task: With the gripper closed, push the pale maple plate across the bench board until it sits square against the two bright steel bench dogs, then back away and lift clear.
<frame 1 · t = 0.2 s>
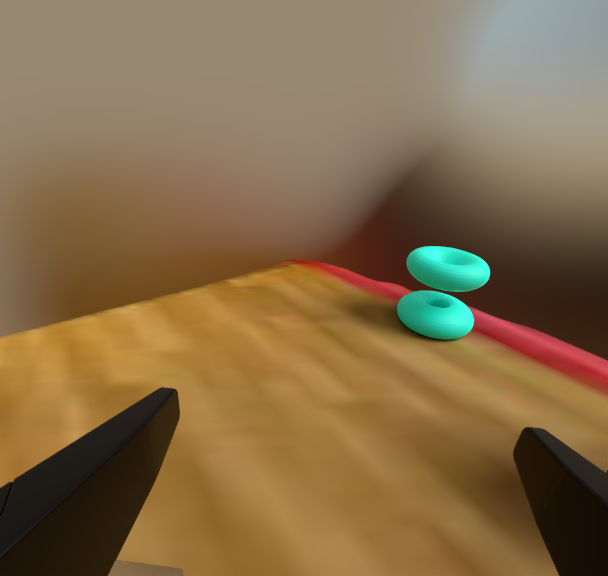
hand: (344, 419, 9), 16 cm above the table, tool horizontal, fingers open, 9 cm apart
donuts: (431, 324, 46), on the table
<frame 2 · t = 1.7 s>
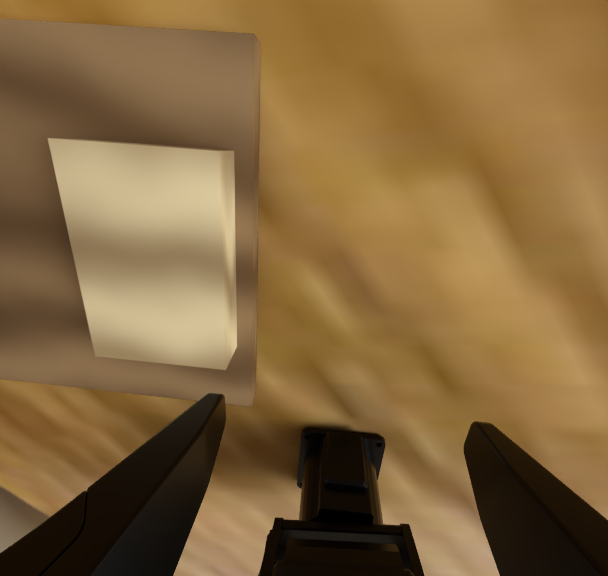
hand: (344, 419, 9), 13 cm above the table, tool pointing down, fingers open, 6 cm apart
maple plate: (169, 254, 20), point 1 cm above the table, touching bench board
bench board: (88, 239, 21), on the table
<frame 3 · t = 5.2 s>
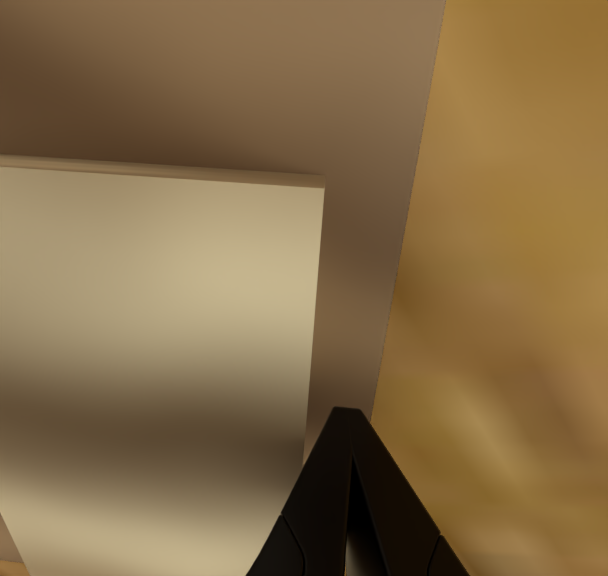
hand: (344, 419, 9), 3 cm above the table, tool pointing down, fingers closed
maple plate: (175, 378, 10), point 2 cm above the table, touching bench board, gripper
bench board: (50, 336, 11), on the table
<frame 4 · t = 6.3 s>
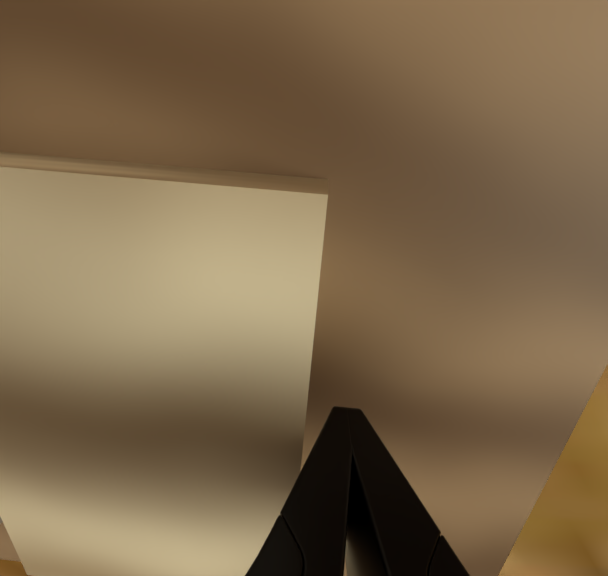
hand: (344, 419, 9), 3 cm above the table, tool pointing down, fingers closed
maple plate: (174, 378, 10), point 1 cm above the table, touching bench board, gripper
bench board: (215, 350, 11), on the table
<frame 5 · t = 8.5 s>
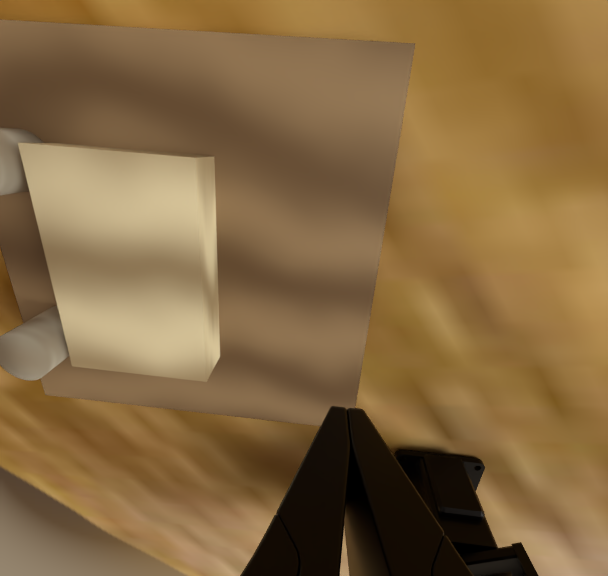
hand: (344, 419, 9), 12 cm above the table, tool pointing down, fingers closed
maple plate: (149, 262, 19), point 1 cm above the table, touching bench board
bench board: (193, 256, 20), on the table
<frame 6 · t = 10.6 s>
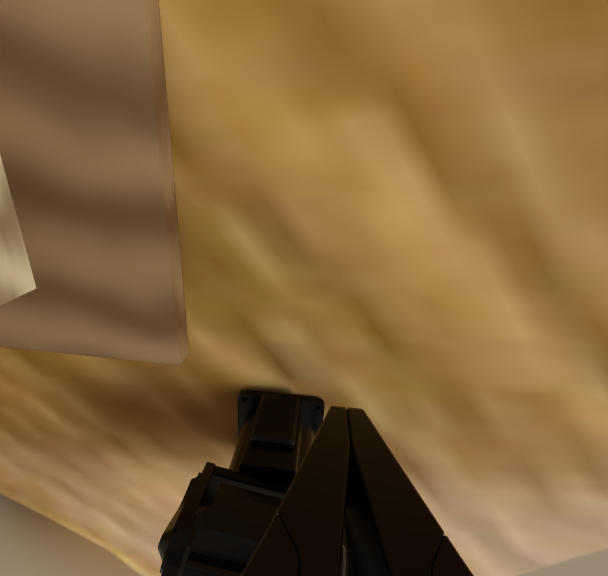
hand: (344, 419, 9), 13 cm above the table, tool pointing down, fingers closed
bench board: (0, 184, 20), on the table
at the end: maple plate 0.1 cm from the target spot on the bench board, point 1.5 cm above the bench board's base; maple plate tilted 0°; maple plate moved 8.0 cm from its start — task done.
